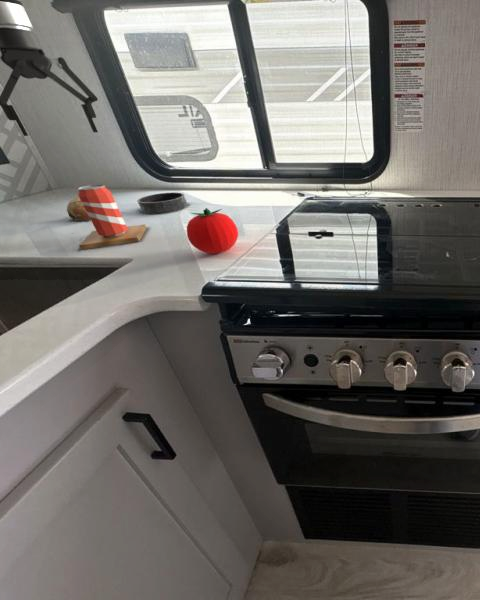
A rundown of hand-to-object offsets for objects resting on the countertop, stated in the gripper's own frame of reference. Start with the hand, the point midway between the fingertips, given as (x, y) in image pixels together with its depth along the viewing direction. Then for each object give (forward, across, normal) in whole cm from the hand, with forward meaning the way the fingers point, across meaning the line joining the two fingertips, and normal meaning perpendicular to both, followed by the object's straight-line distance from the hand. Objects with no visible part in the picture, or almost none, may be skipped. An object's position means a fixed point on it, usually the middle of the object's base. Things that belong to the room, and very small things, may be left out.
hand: (62, 134), depth 86 cm
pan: (+24, -17, -5) cm, 29 cm away
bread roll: (+24, +2, -12) cm, 27 cm away
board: (+24, 0, +18) cm, 30 cm away
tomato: (+24, -16, +47) cm, 55 cm away
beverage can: (+23, 0, +18) cm, 29 cm away
